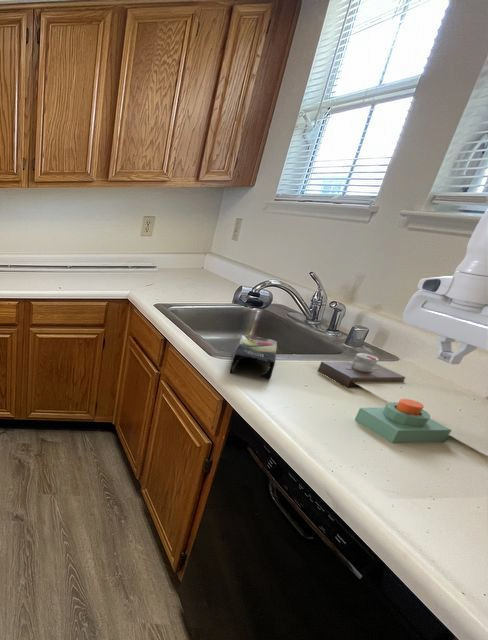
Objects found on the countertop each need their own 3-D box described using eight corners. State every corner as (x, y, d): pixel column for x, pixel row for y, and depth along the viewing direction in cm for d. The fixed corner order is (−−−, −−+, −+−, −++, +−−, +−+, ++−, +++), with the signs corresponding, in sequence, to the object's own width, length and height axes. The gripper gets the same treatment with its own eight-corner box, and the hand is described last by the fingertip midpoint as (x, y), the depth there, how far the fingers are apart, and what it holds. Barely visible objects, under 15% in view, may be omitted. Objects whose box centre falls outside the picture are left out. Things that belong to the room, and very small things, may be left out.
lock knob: (347, 365, 110) (352, 351, 108) (363, 365, 110) (369, 352, 108) (360, 372, 106) (366, 358, 104) (377, 372, 106) (383, 358, 104)
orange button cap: (407, 407, 87) (411, 398, 86) (424, 416, 84) (429, 407, 83) (390, 407, 87) (395, 398, 86) (407, 416, 84) (411, 407, 83)
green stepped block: (402, 418, 92) (412, 399, 90) (444, 442, 84) (456, 421, 81) (354, 419, 91) (363, 399, 89) (391, 443, 83) (402, 422, 81)
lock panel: (366, 370, 114) (371, 360, 113) (400, 387, 105) (406, 376, 104) (317, 371, 114) (321, 360, 112) (347, 388, 105) (352, 377, 103)
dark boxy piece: (235, 349, 127) (240, 330, 124) (272, 357, 122) (279, 337, 119) (227, 373, 112) (233, 353, 109) (269, 383, 107) (277, 362, 104)
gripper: (577, 305, 64) (529, 385, 70) (441, 277, 83) (412, 342, 89) (539, 306, 64) (493, 386, 70) (411, 278, 83) (383, 343, 89)
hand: (447, 361), depth 80 cm, fingers closed
